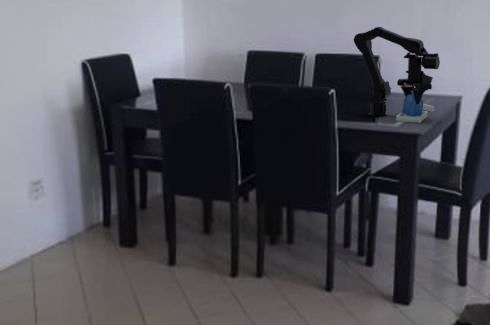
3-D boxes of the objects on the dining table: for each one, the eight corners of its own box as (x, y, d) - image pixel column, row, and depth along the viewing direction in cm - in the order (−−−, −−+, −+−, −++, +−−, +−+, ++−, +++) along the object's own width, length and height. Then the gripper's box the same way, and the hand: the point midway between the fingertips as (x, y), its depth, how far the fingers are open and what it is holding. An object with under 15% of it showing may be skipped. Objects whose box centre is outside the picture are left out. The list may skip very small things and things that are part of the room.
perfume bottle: (402, 112, 296) (405, 86, 292) (413, 112, 298) (417, 86, 294) (409, 116, 290) (413, 89, 287) (421, 115, 292) (425, 89, 289)
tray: (420, 122, 285) (420, 117, 285) (395, 120, 290) (396, 115, 289) (427, 116, 299) (427, 111, 299) (404, 114, 304) (404, 109, 303)
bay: (414, 113, 306) (414, 108, 305) (403, 110, 314) (403, 105, 313) (433, 111, 309) (434, 106, 308) (422, 108, 317) (422, 103, 317)
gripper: (443, 69, 283) (441, 104, 287) (418, 65, 300) (416, 99, 304) (421, 71, 279) (419, 107, 283) (397, 66, 296) (396, 100, 300)
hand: (413, 103), depth 292 cm, fingers closed on perfume bottle, 6 cm apart
